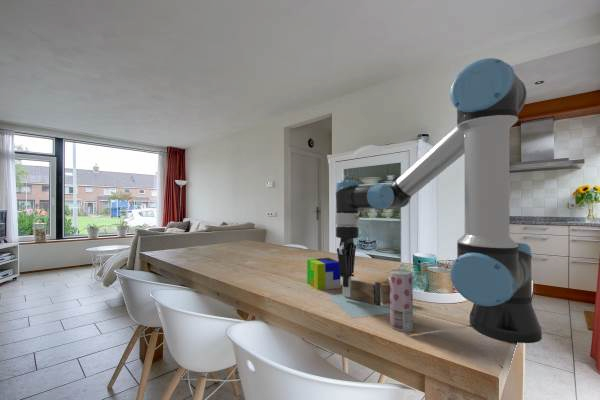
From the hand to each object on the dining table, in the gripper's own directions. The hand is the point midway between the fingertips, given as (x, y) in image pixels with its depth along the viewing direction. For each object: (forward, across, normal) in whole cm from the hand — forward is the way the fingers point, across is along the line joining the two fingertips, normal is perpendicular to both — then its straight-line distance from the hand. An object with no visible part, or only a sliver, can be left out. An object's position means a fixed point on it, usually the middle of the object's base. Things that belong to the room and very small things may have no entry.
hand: (346, 296), depth 94 cm
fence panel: (+1, +2, -4) cm, 5 cm away
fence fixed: (+1, +5, -14) cm, 15 cm away
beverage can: (+3, -12, -20) cm, 23 cm away
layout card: (+2, +2, -7) cm, 8 cm away
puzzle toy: (+2, +14, +15) cm, 20 cm away
